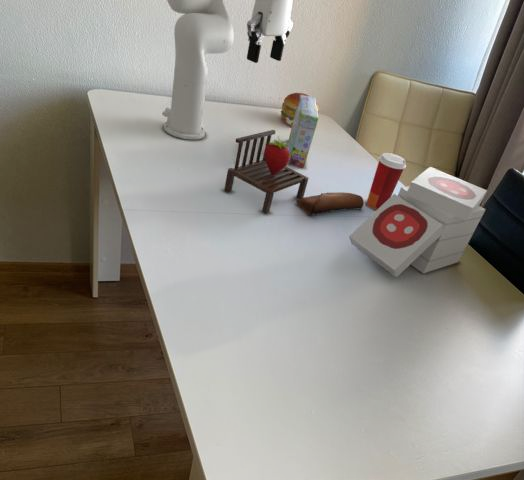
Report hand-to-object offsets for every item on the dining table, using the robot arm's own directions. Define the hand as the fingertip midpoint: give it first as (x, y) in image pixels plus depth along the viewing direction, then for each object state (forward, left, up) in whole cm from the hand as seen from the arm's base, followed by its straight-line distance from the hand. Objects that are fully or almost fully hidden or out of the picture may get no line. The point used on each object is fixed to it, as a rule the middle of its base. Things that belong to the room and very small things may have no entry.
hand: (263, 60), depth 134 cm
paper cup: (+35, +18, -28) cm, 49 cm away
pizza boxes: (+54, -1, -28) cm, 61 cm away
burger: (-16, +51, -28) cm, 61 cm away
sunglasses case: (+28, +3, -28) cm, 40 cm away
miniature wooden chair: (+14, -8, -28) cm, 33 cm away
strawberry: (+15, -8, -22) cm, 28 cm away
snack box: (+1, +26, -28) cm, 39 cm away
